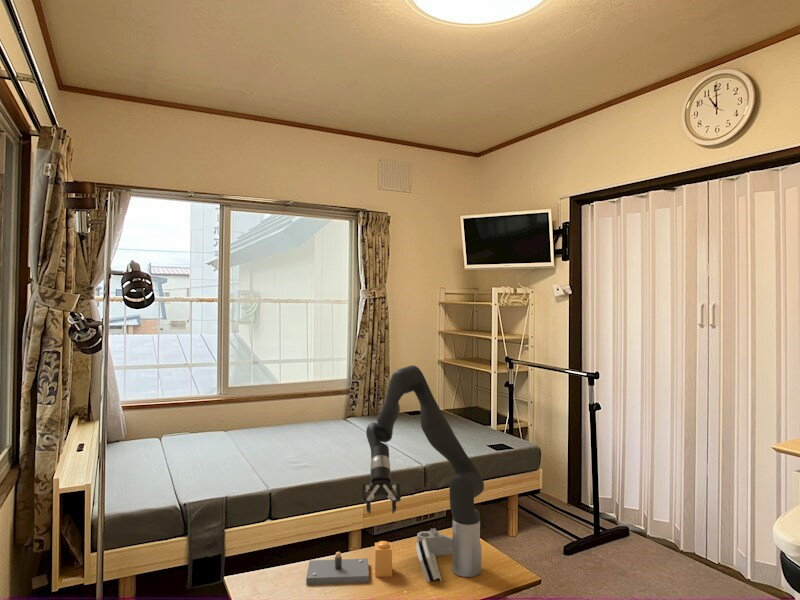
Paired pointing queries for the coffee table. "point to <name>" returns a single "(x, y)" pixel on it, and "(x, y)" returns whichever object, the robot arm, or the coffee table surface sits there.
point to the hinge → (427, 561)
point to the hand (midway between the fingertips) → (381, 512)
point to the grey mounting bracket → (437, 542)
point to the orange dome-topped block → (383, 559)
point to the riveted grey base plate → (337, 571)
